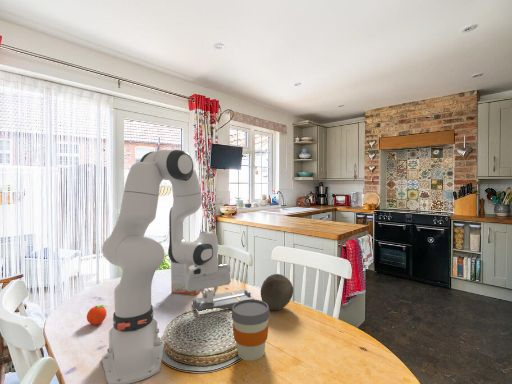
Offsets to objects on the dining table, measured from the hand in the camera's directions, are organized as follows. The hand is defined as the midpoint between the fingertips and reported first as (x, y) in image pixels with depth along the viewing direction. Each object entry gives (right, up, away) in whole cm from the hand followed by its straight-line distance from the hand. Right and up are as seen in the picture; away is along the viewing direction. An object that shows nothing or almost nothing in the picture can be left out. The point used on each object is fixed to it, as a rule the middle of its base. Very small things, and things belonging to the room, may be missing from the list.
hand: (209, 296), depth 121 cm
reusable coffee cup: (+20, -6, -33) cm, 38 cm away
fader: (0, -2, 0) cm, 2 cm away
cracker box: (-15, -5, +17) cm, 23 cm away
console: (+6, -5, +3) cm, 8 cm away
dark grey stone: (+31, -5, -2) cm, 31 cm away
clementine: (-42, -6, -13) cm, 45 cm away
